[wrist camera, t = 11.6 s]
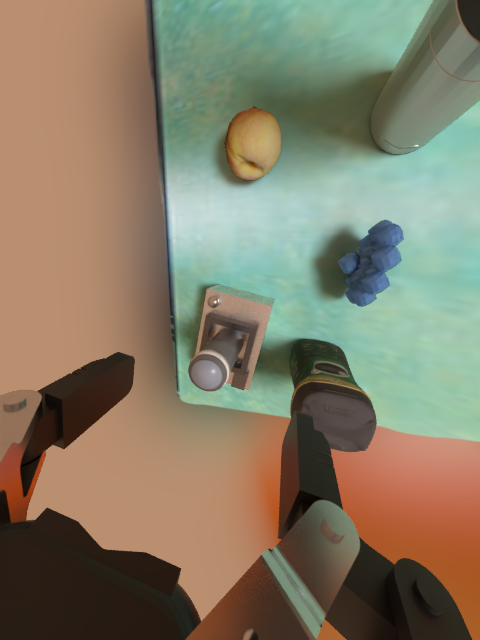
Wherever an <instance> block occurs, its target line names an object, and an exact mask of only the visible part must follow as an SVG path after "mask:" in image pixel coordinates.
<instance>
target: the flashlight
mask: <svg viewBox="0 0 480 640" xmlns="http://www.w3.org/2000/svg"><path fill="white" fill-rule="evenodd" d="M242 347H243V338H242V336H241V335H240V333H239V332H238V331H236V330H234V329H231V328H224V329H222V330H220V331H219V332H218V333H217V334H216V335H215V336H214V337H213V338H212V340H211V341H210V342H209V343H208V344H207V345H206V346H205V347H204V348H203V349H202V350H201V351H200V352H199V353H197V354H196V355H195V356H194V357H193V359H192V360H191V362H190V365H189V369H188V372H189V377H190V379H191V381H192V382H193V383H194V384H195V385H196V386H197V387H198V388H200V389H202V390H205V391H216V390H218V389H220V388H221V387H223V386H224V385H225V384H226V382H227V380H228V378H229V376H230V371H231V369H232V367H233V365H234V363H235V361H236V359H237V358H238V356H239V354H240V352H241V350H242Z"/></svg>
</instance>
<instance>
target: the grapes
mask: <svg viewBox="0 0 480 640" xmlns="http://www.w3.org/2000/svg"><path fill="white" fill-rule="evenodd" d="M368 233H369V235H367V236H366V237H364V238H363V239H362V240H361V241H359V246H360V249H359V251H357V252H356V253H354V252H353V253H348V254H347V255H345V256H344V257H342V258H341V259H340V260H339V261H338V264H339V267H340V269H341V270H342V272H343V273H345V274H349V275H350V276H349V277H348V278H346V279H345V281H346V283H347V285H348V287H349V290H347V291H346V292H345V293H346V296H347V298H348V300H349V301H350V302H351V303H353V304H357V305H358V306H362V307H363V306H366V305H368V304H370V303H371V302H373V301H374V300H375V299H376V294H378V293H380V292H382V291H383V290H385V289H386V288H387V287H388V286H390V284H389V280H388V278H387V276H386V274H385V272H386V271H388V270H390V269H392V268H393V267H395V266H396V265H397V264H398V263H400V262H401V255H400V252H399V250H398V248H397V247H395V246H396V245H398V244H399V243H400V242H401V241H403V240H404V237H403V231H402V229H401V227H400V226H399V225H396V224H394V223H393V224H392V222H390V221H388V220H383V221H380V222H379V223H377V224H376V225H375V226H373V227H372V228H371V229H370V230H369V231H368Z"/></svg>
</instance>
